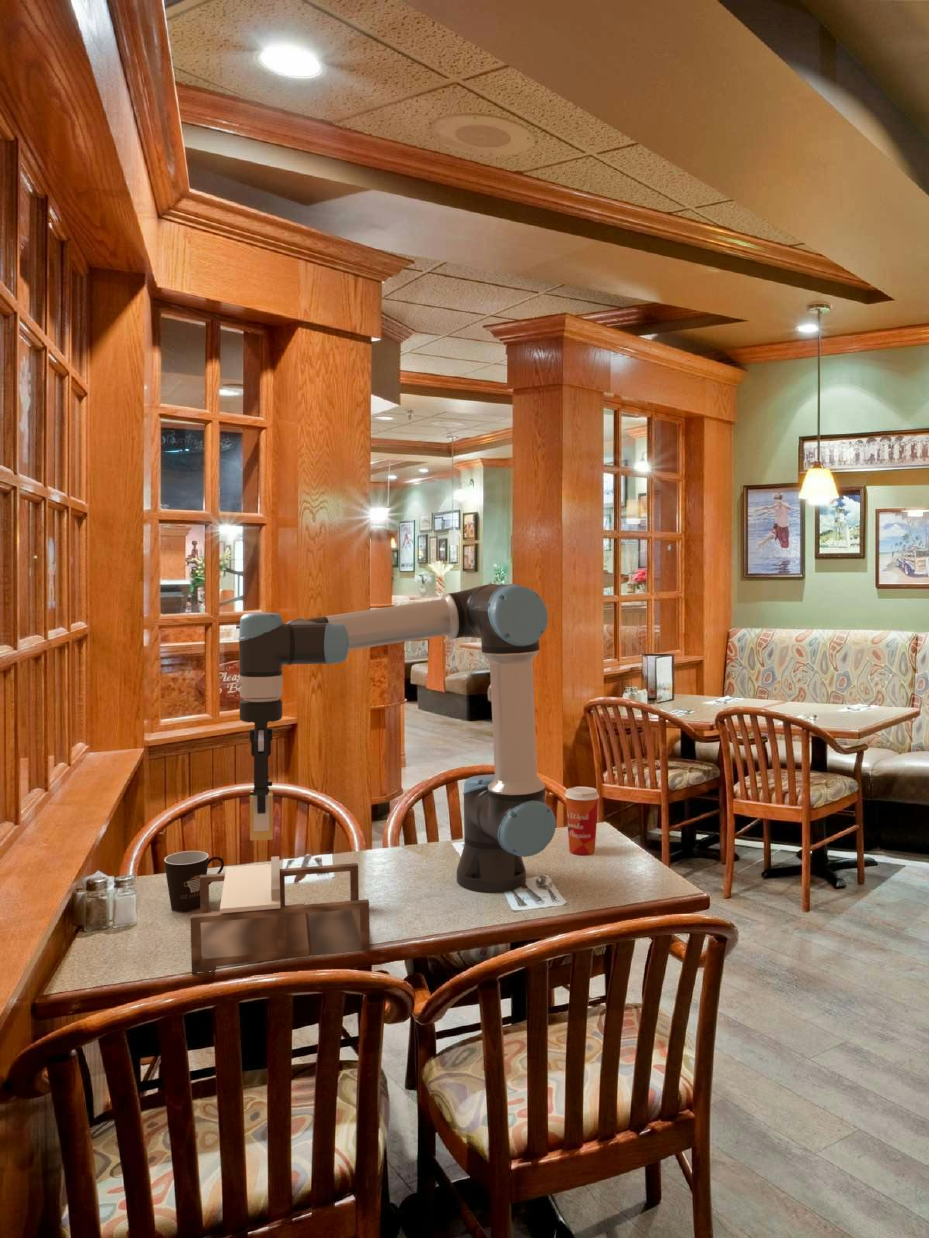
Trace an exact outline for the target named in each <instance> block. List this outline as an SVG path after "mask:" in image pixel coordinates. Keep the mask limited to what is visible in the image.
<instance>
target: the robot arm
mask: <svg viewBox="0 0 929 1238" xmlns="http://www.w3.org/2000/svg"><path fill="white" fill-rule="evenodd" d="M548 618H549V616H548V609H547V605H546V603H545V602H544V600H543V598H542V597H541V596H540V594H538V593H537V591H535V590H534V589H532V588H530V587H527V586H523V585H520V584H517V583H516V584H514V583H509V584H496V583H489V584H485V585H484V584H483V585H478V586H476V587H473V588H472V587H471V588H468V589H465V590H460V591H455V592H449V593H445V594H443V595H442V597H441V598H440V599H434V600H428V601H421V602H414V603H408V604H401V605H394V606H387V607H380V608H374V609H373V608H372V609H366V610H359V611H352V612H346V613H340V614H339V613H338V614H332V615H325V616H319V617H312V618H305V619H304V618H296V619H293V620H290V621H288V622H286V623H284V621H283V618H282V615H281V614H280V613H278V612H248V613H244V614H243V615H241V617H240V619H239V633H238V634H239V636H238V653H239V654H238V658H239V660H238V661H239V663H238V665H239V667H238V668H239V679H240V680H239V679H237V680H236V681H235V685H236V686H237V687H239V697H240V698H242V699H240V701H239V720H241V721H242V722H243V723H253V724H254V729H249V741H250V743H251V744H250V747H251V748H250V750H251V751H250V752H251V753H250V754H251V756H252V757H253V787H254V788H253V790H252V791H253V792H250V791H249V797H250V796H254V831H267V830H269V790H270V787H273V781H269V778H270V776H269V757H270V756H271V754H272V741H273V729H272V728H269V727H268V723H271V722H272V723H274V722H278V721H281V720H282V718H283V700H282V699H281V697H282V696H283V694H284V693H283V666H291V665H327V666H329V665H332V664H340V663H343V662H345V661H346V659H347V657H348V655H349V651H353V650H360V649H367V648H372V647H377V646H384V645H385V646H386V645H391V644H398V643H399V644H400V643H403V642H404V643H405V642H409V641H410V642H411V641H418V640H423V639H429V638H430V639H431V638H435V637H442V636H447V638H449V639H451V640H454V639H459V638H475V639H477V638H478V639H480V641H481V645H480V646H481V654H482V655H483V656H484V657H485V658H486V659H487V660H488V661H489V673H490V674H489V675H490V676H489V677H490V695H491V718H492V720H491V721H492V722H491V723H492V739H493V741H492V742H493V745H492V746H493V758H494V759H493V764H494V767H493V768H494V774H492V773H491V774H483V775H482V774H481V775H473V776H470V777H468V778H467V779H465V781H464V786H463V792H462V796H463V826H464V827H463V831H464V832H463V834H464V846H463V847H462V848H463V849H462V853H461V856H460V858H459V862H458V865H457V867H456V883H457V884H458V885H459V886H461V887H463V888H465V889H467V890H471V891H476V892H483V893H497V892H507V891H511V890H516V889H518V888H520V887H522V886H523V885H525V883H526V882H527V870H526V866H525V864H524V861H523V858H526V857H527V858H529V857H532V856H535V855H538V854H539V853H540V852H543V851H544V850H545V849H546V847H547V846H548V845H549V844H550V843H551V842H552V840H553V838H554V835H555V832H556V828H557V827H556V825H557V823H556V822H557V821H556V816H555V814H554V812H553V810H552V809H551V807H550V806H549V805H548V804H547V801H546V800H547V799H546V785H545V782H544V781H542V780H541V779H540V778H539V776H538V766H537V764H538V763H537V745H536V744H537V740H536V722H535V721H536V718H535V717H536V716H535V693H534V691H535V690H534V687H535V686H534V670H533V666H534V664H533V663H534V661H533V660H534V658H535V657H536V656H537V655H538V654H539V652H540V651H541V649H540V648H541V647H540V639H541V637H542V636H543V634H544V633H545V632H546V630H547V627H548V626H547V625H548V620H549V619H548Z"/></svg>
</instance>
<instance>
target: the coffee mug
mask: <svg viewBox="0 0 929 1238" xmlns="http://www.w3.org/2000/svg"><path fill="white" fill-rule="evenodd" d="M209 856H210V855H209V854H208V853H207V852H205V851H201V850H186V851H179V852H175V853H172V854H169V855H167V856H165V857H164V859H163V863H164V868H165V869H164V870H165V874H166V875H165V876H166V882H167V889H168V895H169V903H170V909H171V911H174V912H177V913H189V912H193V911H194V912H195V911H198V910H201V906H200V875H208V867H209V865H210V864H211V862H213V861H215V860H217V861H219V862H220V868H219V870H218V871H217V872H216V874H221V873H222V871H223V870H224V867H225V862H224V860H223V858H221V857H220V856H212V857H210V858H209ZM211 883H213V882H209V886H210V885H211Z"/></svg>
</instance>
